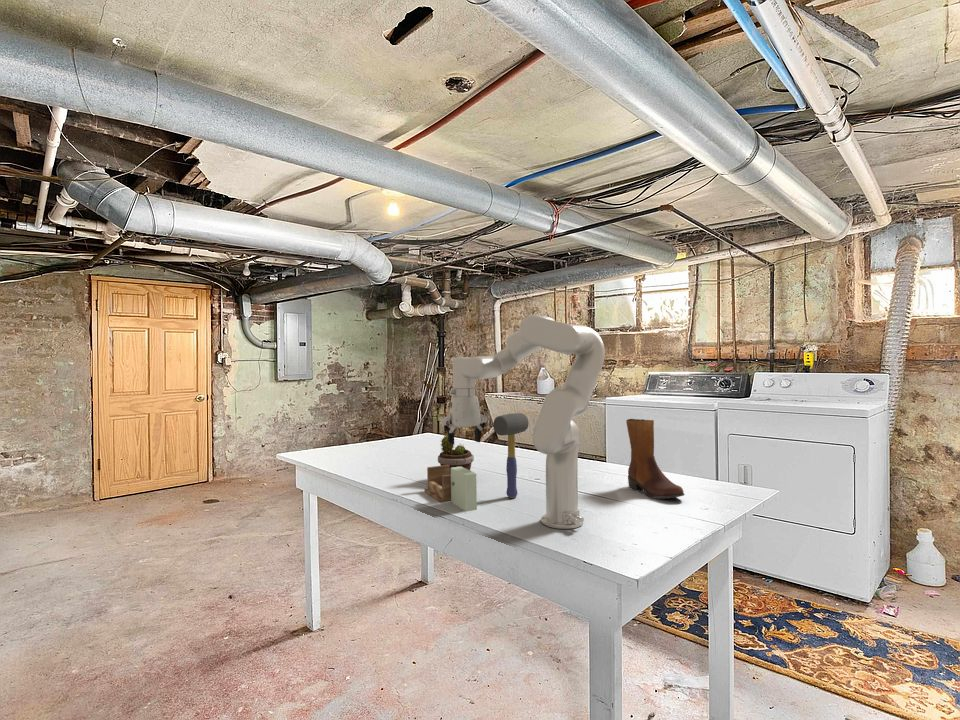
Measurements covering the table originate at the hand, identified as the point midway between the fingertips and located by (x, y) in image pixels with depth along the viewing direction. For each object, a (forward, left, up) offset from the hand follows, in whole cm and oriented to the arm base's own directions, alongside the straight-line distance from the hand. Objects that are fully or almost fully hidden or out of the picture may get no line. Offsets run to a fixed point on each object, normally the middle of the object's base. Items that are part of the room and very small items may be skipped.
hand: (464, 443), depth 172 cm
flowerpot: (+30, -10, -21) cm, 38 cm away
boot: (-22, -65, -21) cm, 72 cm away
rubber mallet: (-1, -18, -21) cm, 28 cm away
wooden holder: (+14, +1, -21) cm, 25 cm away
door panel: (-1, +1, -21) cm, 21 cm away
